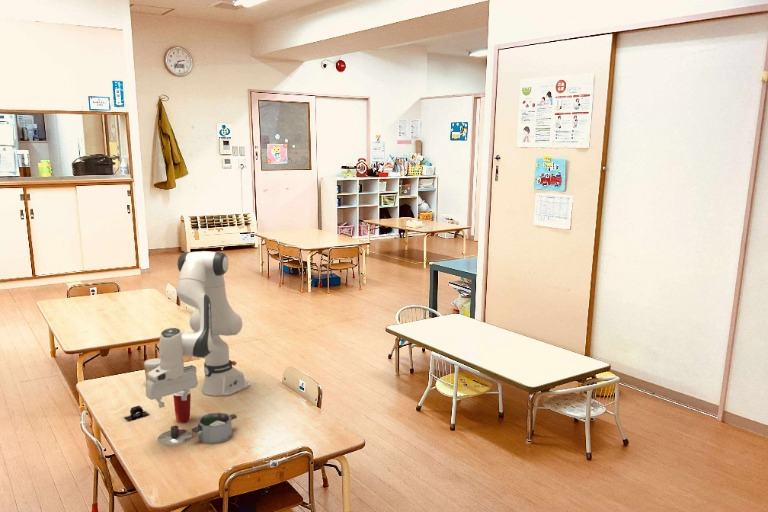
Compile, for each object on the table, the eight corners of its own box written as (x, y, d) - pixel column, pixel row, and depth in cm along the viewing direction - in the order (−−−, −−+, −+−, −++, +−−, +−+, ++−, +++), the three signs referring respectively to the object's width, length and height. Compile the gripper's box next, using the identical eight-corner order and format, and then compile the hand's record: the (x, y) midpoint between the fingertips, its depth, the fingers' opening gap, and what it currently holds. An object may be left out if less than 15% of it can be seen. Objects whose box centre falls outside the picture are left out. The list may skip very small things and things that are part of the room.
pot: (226, 423, 250) (226, 407, 249) (244, 433, 241) (244, 417, 240) (185, 438, 236) (184, 422, 235) (202, 449, 227) (201, 432, 226)
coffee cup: (151, 380, 294) (150, 357, 292) (169, 381, 293) (168, 358, 291) (141, 387, 285) (140, 364, 283) (159, 389, 284) (158, 365, 282)
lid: (181, 428, 246) (181, 417, 245) (198, 438, 237) (197, 427, 236) (151, 438, 236) (151, 427, 235) (167, 449, 228) (167, 438, 227)
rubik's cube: (208, 436, 238) (208, 425, 237) (217, 431, 243) (217, 420, 242) (218, 439, 236) (218, 427, 235) (227, 434, 241) (226, 422, 240)
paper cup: (196, 418, 254) (195, 387, 252) (184, 425, 247) (183, 394, 245) (181, 415, 257) (179, 384, 254) (169, 422, 249) (168, 391, 247)
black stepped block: (125, 424, 248) (125, 414, 247) (118, 419, 253) (118, 409, 252) (154, 415, 257) (154, 406, 256) (147, 410, 262) (146, 400, 261)
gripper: (192, 362, 241) (193, 394, 243) (143, 374, 226) (144, 408, 229) (200, 365, 237) (201, 398, 239) (150, 378, 222) (152, 413, 224)
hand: (173, 403), depth 234 cm, fingers open, 8 cm apart
